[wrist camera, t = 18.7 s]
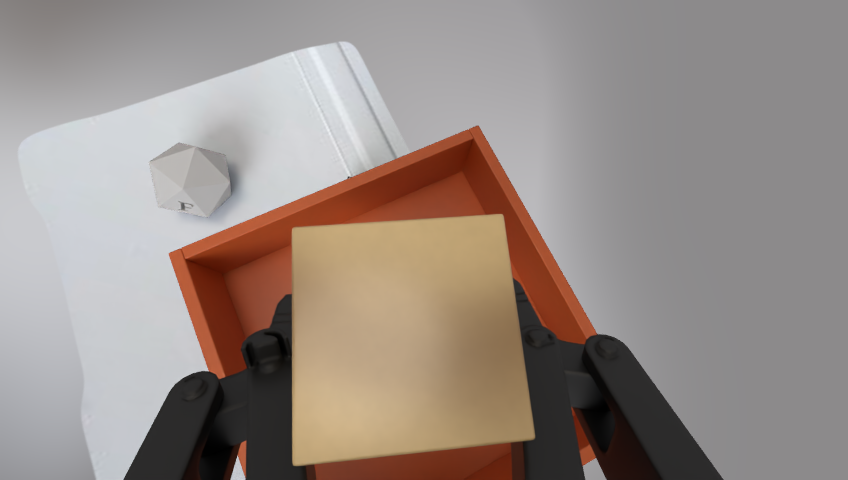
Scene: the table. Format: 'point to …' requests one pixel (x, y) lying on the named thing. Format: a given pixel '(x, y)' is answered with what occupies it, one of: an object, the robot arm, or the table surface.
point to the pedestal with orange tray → (360, 203)
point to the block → (405, 339)
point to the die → (190, 180)
